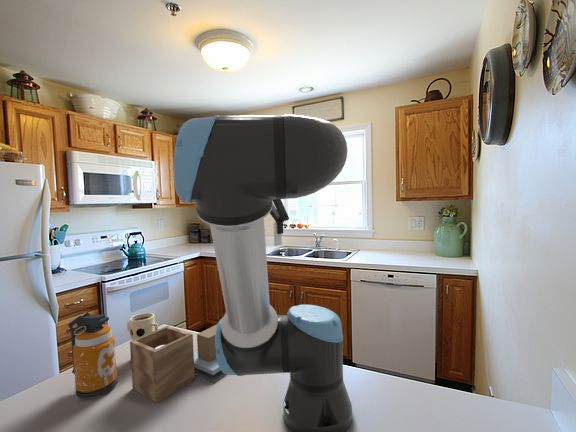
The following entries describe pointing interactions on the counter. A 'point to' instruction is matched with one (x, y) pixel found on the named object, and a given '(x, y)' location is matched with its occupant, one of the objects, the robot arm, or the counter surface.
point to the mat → (209, 375)
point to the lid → (206, 351)
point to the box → (162, 362)
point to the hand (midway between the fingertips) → (259, 244)
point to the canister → (93, 355)
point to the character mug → (141, 325)
